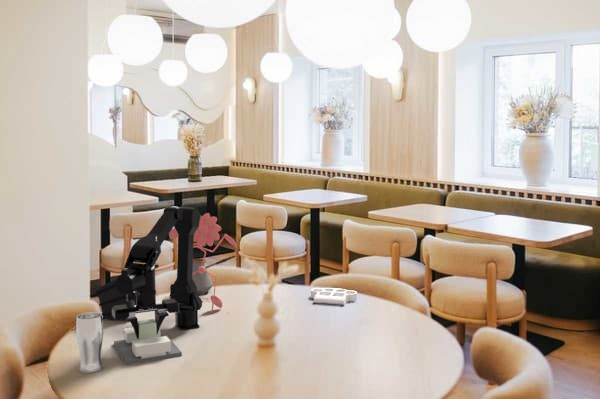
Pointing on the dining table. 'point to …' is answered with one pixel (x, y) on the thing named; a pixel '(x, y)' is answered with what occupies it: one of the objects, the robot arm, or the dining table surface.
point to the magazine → (111, 299)
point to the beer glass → (90, 341)
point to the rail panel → (134, 359)
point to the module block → (147, 329)
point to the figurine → (207, 235)
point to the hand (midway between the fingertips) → (146, 337)
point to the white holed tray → (333, 295)
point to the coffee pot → (204, 275)
